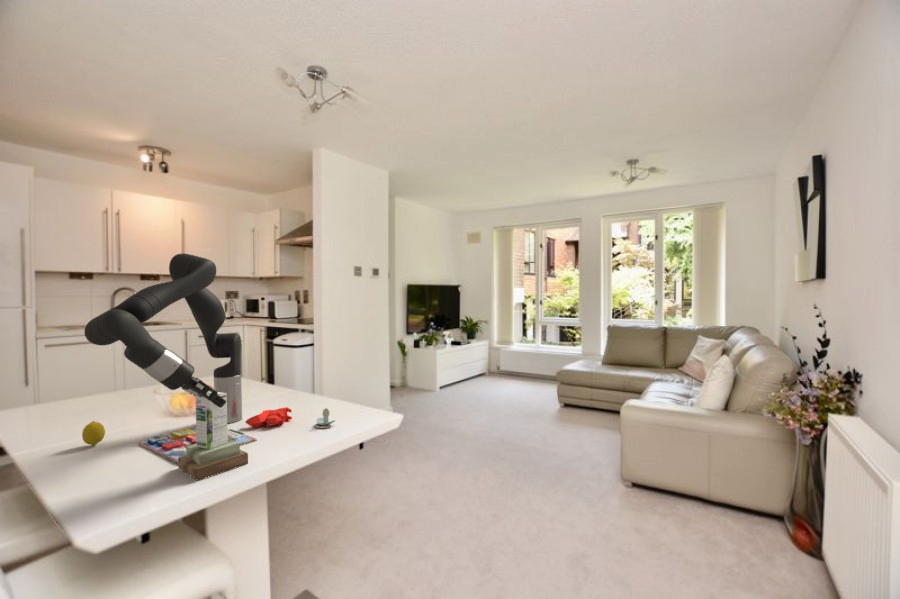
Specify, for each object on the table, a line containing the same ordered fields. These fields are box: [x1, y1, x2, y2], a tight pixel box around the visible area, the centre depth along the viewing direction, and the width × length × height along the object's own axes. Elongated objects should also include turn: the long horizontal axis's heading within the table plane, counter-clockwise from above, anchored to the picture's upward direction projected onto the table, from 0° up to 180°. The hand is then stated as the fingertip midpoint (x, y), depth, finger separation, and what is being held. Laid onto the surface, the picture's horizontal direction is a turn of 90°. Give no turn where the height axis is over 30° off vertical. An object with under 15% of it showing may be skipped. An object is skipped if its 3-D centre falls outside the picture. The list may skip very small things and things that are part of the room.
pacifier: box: [314, 408, 336, 429], centre depth 149 cm, size 7×6×6 cm
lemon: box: [82, 420, 106, 447], centre depth 133 cm, size 6×6×8 cm
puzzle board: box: [138, 427, 258, 464], centre depth 135 cm, size 30×23×3 cm
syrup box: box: [195, 391, 228, 449], centre depth 115 cm, size 6×6×14 cm
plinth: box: [177, 438, 249, 481], centre depth 116 cm, size 13×13×6 cm
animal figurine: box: [245, 406, 293, 429], centre depth 151 cm, size 12×15×5 cm
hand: (216, 402), depth 116 cm, fingers open, 8 cm apart
